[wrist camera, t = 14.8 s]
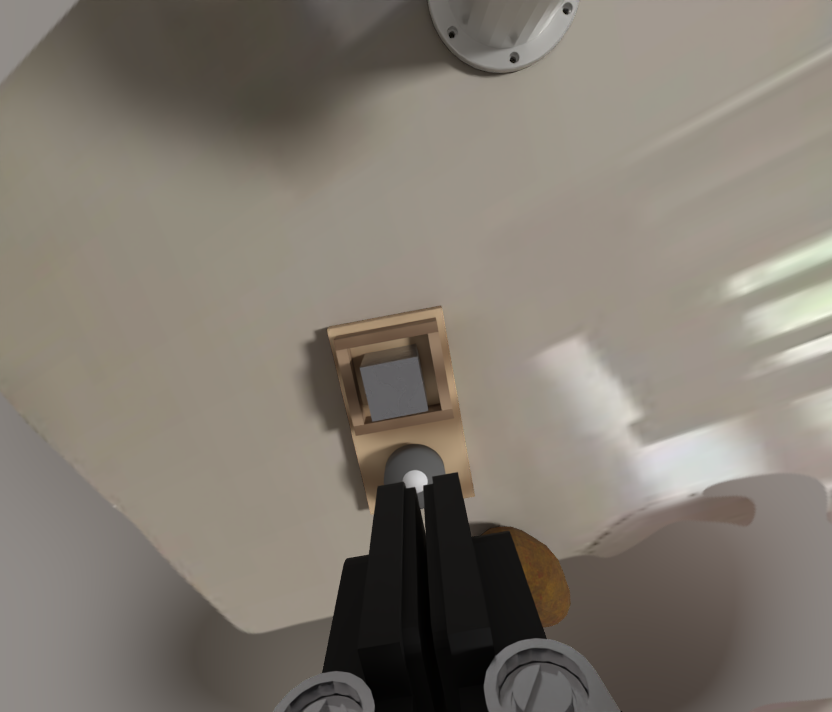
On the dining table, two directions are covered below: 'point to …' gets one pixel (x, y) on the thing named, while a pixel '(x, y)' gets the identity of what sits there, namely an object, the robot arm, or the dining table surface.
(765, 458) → the dining table surface
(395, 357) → the grey stone cube
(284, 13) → the dining table surface
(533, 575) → the potato
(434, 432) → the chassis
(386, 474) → the wheel
